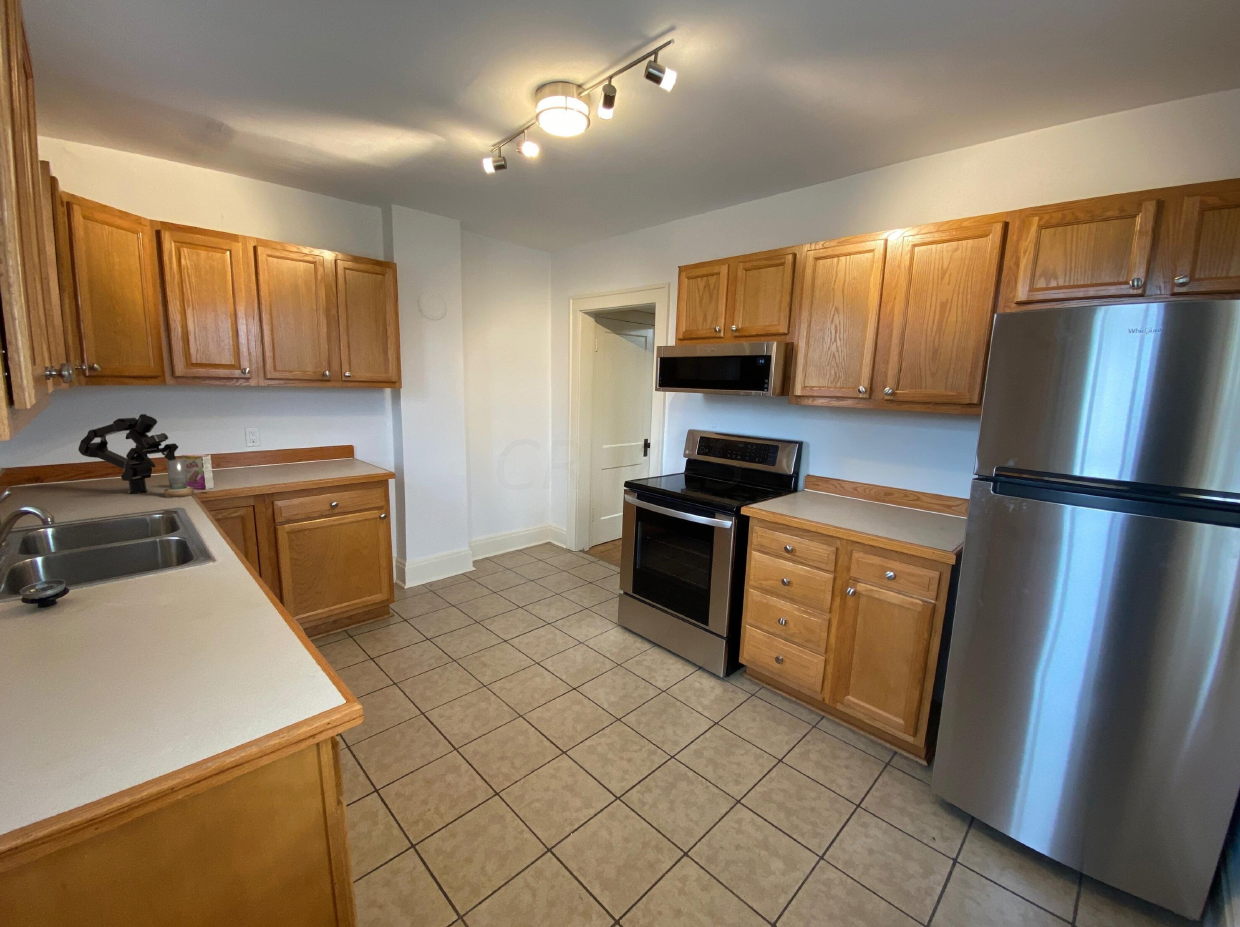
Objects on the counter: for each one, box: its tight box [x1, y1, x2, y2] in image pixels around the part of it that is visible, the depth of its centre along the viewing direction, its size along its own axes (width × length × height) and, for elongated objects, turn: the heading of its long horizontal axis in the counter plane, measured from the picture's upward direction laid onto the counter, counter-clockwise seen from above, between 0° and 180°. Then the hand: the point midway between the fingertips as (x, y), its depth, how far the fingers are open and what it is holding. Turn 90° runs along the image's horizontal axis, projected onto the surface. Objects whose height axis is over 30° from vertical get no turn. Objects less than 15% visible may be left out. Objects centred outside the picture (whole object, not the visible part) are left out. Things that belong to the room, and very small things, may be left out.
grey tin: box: [166, 458, 187, 490], centre depth 227 cm, size 6×6×13 cm
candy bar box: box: [180, 453, 215, 490], centre depth 242 cm, size 11×5×16 cm, turn 84°
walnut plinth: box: [163, 487, 195, 498], centre depth 229 cm, size 10×10×3 cm
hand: (165, 465), depth 228 cm, fingers open, 9 cm apart
